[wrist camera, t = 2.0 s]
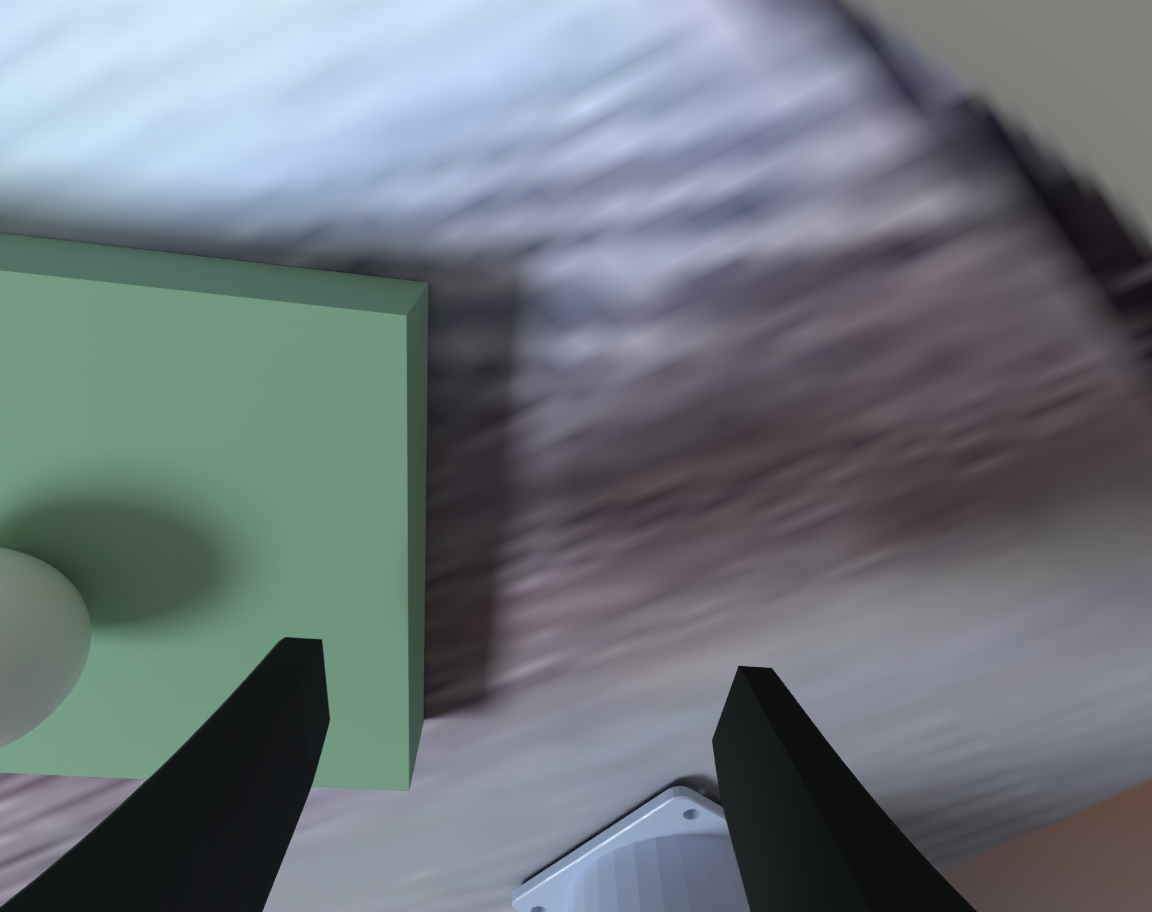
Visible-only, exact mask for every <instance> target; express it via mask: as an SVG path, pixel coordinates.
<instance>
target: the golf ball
mask: <svg viewBox="0 0 1152 912" xmlns="http://www.w3.org/2000/svg"><path fill="white" fill-rule="evenodd" d="M90 643H91V625H90V617H89V614H88V610H87V608H86V605H85V602H84V600H83V598H82V596H81V595H80V593H79V592H78V590H77V589H76V588H75V586H74V585H73V584H72V583H71V582H70V581H69V579H67V578H66V577H65V576H64V575H63V574H62V573H61V572H60V571H58V570H57V569H56V568H54V567H53V566H51V565H50V564H48V563H46V562H44V561H42V560H40V559H38V558H36V557H33V556H31V555H28V554H25V553H22V552H18V551H15V550H11V549H6V548H1V547H0V749H1V748H3V747H4V746H6V745H8V744H10V743H12V742H14V741H16V740H18V739H20V738H21V737H23V736H24V735H25V734H27V733H28V732H30V731H31V730H33V729H34V728H36V727H37V726H38V725H40V724H41V723H42V722H43V721H44V720H46V719H47V718H48V717H49V716H50V715H51V714H52V713H53V712H54V711H55V710H56V709H57V708H58V707H59V706H60V705H61V703H62V702H63V701H64V700H65V699H66V698H67V697H68V695H69V694H70V692H71V691H72V690H73V688H74V687H75V685H76V683H77V682H78V680H79V678H80V676H81V674H82V672H83V670H84V667H85V664H86V661H87V658H88V654H89V651H90Z"/></svg>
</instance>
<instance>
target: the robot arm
mask: <svg viewBox="0 0 1152 912" xmlns="http://www.w3.org/2000/svg"><path fill="white" fill-rule="evenodd" d="M329 723H330V713H329V703H328V693H327V683H326V673H325V663H324V653H323V643H322V639H309V638H294V637H284V638H283V639H281V640H280V641H278V643H277V644H276V645H275V646H274V647H273V648H272V649H271V651H270V652H269V653H268V654H267V655H266V656H265V657H264V659H263V660H262V661H261V662H260V663H259V664H258V665H257V666H256V668H255V669H254V670H253V671H252V672H251V673H250V674H249V675H248V677H247V678H246V679H245V680H244V681H243V682H242V683H241V684H240V685H239V687H238V688H237V689H236V690H235V691H234V692H233V693H232V694H231V695H230V696H229V697H228V698H227V700H226V701H225V702H224V703H223V704H222V705H221V706H220V707H219V708H218V709H217V710H216V711H215V712H214V713H213V714H212V715H211V716H210V718H209V719H208V720H207V721H206V722H205V723H204V724H203V725H202V726H201V727H200V728H199V729H198V730H197V731H196V732H195V733H194V734H193V735H192V736H191V737H190V738H189V739H188V740H187V741H186V742H185V743H184V744H183V745H182V746H181V747H180V748H179V749H178V750H177V751H176V752H175V753H174V754H173V755H172V756H171V757H170V758H169V759H168V760H167V761H166V762H165V763H164V764H163V765H162V766H161V767H160V768H159V769H158V770H157V771H156V772H155V773H154V774H153V775H152V776H151V777H150V778H148V779H147V780H146V781H145V782H144V783H143V784H142V785H141V786H140V787H139V788H138V789H137V790H136V791H135V792H134V793H133V794H132V795H131V796H130V797H128V798H127V799H126V800H125V801H124V802H123V803H122V804H121V805H120V806H119V807H118V808H117V809H116V810H115V811H113V812H112V813H111V814H110V815H109V816H108V817H107V818H106V819H105V820H103V821H102V822H101V823H100V824H99V825H98V826H97V827H96V828H95V829H93V830H92V831H91V832H90V833H89V834H88V835H87V836H85V837H84V838H83V839H82V840H81V841H80V842H79V843H77V844H76V845H75V846H74V847H73V848H72V849H70V850H69V851H68V852H67V853H66V854H65V855H63V856H62V857H61V858H60V859H59V860H57V861H56V862H55V863H54V864H53V865H52V866H50V867H49V868H48V869H47V870H46V871H45V872H43V873H42V874H41V875H40V876H38V877H37V878H36V879H35V880H34V881H32V882H31V883H30V884H29V885H27V886H26V887H25V888H24V889H22V890H21V891H20V892H19V893H17V894H16V895H15V896H14V897H12V898H11V899H10V900H9V901H7V902H6V903H5V904H4V905H2V906H1V907H0V912H262V911H263V909H264V906H265V903H266V901H267V898H268V896H269V893H270V891H271V888H272V886H273V883H274V881H275V878H276V876H277V873H278V871H279V868H280V866H281V863H282V861H283V858H284V856H285V853H286V851H287V848H288V845H289V843H290V840H291V838H292V835H293V833H294V830H295V828H296V825H297V823H298V820H299V818H300V815H301V812H302V810H303V807H304V805H305V802H306V800H307V797H308V794H309V792H310V789H311V787H312V784H313V781H314V777H315V774H316V770H317V767H318V763H319V760H320V756H321V753H322V749H323V745H324V742H325V738H326V734H327V730H328V727H329ZM712 744H713V751H714V758H715V765H716V773H717V779H718V785H719V791H720V797H721V803H722V806H723V807H721V806H720V805H718V804H716V803H714V802H713V801H711V800H709V799H707V798H706V797H704V796H702V795H700V794H699V793H697V792H695V791H693V790H692V789H690V788H688V787H685V786H675V787H671V788H669V789H667V790H666V791H664V792H663V793H661V794H660V795H658V796H657V797H655V798H654V799H652V800H651V801H649V802H647V803H646V804H644V805H643V806H641V807H640V808H638V809H637V810H635V811H634V812H632V813H631V814H629V815H628V816H626V817H625V818H623V819H622V820H620V821H619V822H617V823H615V824H614V825H612V826H611V827H609V828H608V829H606V830H605V831H603V832H602V833H600V834H599V835H597V836H596V837H594V838H593V839H591V840H590V841H588V842H587V843H585V844H584V845H582V846H580V847H579V848H577V849H576V850H574V851H573V852H571V853H570V854H568V855H567V856H565V857H564V858H562V859H561V860H559V861H558V862H556V863H555V864H553V865H552V866H550V867H548V868H547V869H545V870H544V871H542V872H541V873H539V874H538V875H536V876H535V877H533V878H532V879H530V880H529V881H527V882H526V883H524V884H523V885H521V886H520V887H518V888H517V889H516V890H515V891H514V892H513V898H512V906H513V907H514V908H515V909H516V910H517V911H519V912H977V911H976V910H975V909H974V908H973V907H972V906H971V905H970V904H969V903H968V902H967V901H966V900H965V899H964V898H963V897H962V896H961V895H960V894H959V893H958V892H957V891H956V890H955V889H954V888H953V887H952V886H951V885H950V884H949V883H948V882H947V881H946V880H945V879H944V878H943V877H942V876H941V874H940V873H939V872H938V871H937V870H936V869H935V868H934V867H933V866H932V865H931V864H930V863H929V862H928V861H927V860H926V859H925V857H924V856H923V855H922V854H921V853H920V852H919V851H918V850H917V849H916V848H915V847H914V845H913V844H912V843H911V842H910V841H909V840H908V839H907V837H906V836H905V835H904V834H903V833H902V832H901V831H900V829H899V828H898V827H897V826H896V825H895V824H894V823H893V821H892V820H891V819H890V818H889V817H888V816H887V815H886V813H885V812H884V811H883V810H882V809H881V807H880V806H879V805H878V804H877V803H876V801H875V800H874V799H873V798H872V797H871V795H870V794H869V793H868V792H867V791H866V789H865V788H864V787H863V786H862V784H861V783H860V782H859V781H858V779H857V778H856V777H855V776H854V774H853V773H852V772H851V771H850V769H849V768H848V767H847V766H846V764H845V763H844V762H843V761H842V759H841V758H840V757H839V756H838V754H837V753H836V752H835V751H834V749H833V748H832V747H831V745H830V744H829V743H828V742H827V740H826V739H825V738H824V736H823V735H822V734H821V732H820V731H819V730H818V728H817V727H816V726H815V724H814V723H813V722H812V721H811V719H810V718H809V717H808V715H807V714H806V713H805V711H804V710H803V709H802V707H801V706H800V705H799V703H798V702H797V701H796V699H795V698H794V697H793V695H792V694H791V693H790V691H789V690H788V689H787V687H786V686H785V685H784V683H783V682H782V681H781V679H780V678H779V677H778V675H777V674H776V673H775V672H774V670H773V669H772V668H764V667H748V666H738V669H737V672H736V675H735V678H734V680H733V683H732V686H731V689H730V692H729V694H728V697H727V700H726V703H725V706H724V708H723V711H722V714H721V717H720V720H719V722H718V725H717V728H716V731H715V734H714V736H713V739H712Z"/></svg>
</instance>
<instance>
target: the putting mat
mask: <svg viewBox="0 0 1152 912" xmlns="http://www.w3.org/2000/svg"><path fill="white" fill-rule="evenodd" d="M428 302H429V283H428V282H419V281H411V280H402V279H394V278H385V277H376V276H368V275H359V274H350V273H342V272H333V271H325V270H316V269H307V268H299V267H290V266H281V265H273V264H264V263H256V262H247V261H238V260H230V259H221V258H212V257H204V256H195V255H187V254H178V253H169V252H161V251H152V250H143V249H135V248H126V247H118V246H109V245H100V244H92V243H83V242H74V241H66V240H57V239H49V238H40V237H31V236H23V235H14V234H5V233H0V547H1V548H6V549H11V550H15V551H18V552H22V553H25V554H28V555H31V556H33V557H36V558H38V559H40V560H42V561H44V562H46V563H48V564H50V565H51V566H53V567H54V568H56V569H57V570H58V571H60V572H61V573H62V574H63V575H64V576H65V577H66V578H67V579H69V581H70V582H71V583H72V584H73V585H74V586H75V588H76V589H77V590H78V592H79V593H80V595H81V596H82V598H83V600H84V602H85V605H86V608H87V610H88V614H89V617H90V625H91V643H90V651H89V654H88V658H87V661H86V664H85V667H84V670H83V672H82V674H81V676H80V678H79V680H78V682H77V683H76V685H75V687H74V688H73V690H72V691H71V692H70V694H69V695H68V697H67V698H66V699H65V700H64V701H63V702H62V703H61V705H60V706H59V707H58V708H57V709H56V710H55V711H54V712H53V713H52V714H51V715H50V716H49V717H48V718H47V719H46V720H44V721H43V722H42V723H41V724H40V725H38V726H37V727H36V728H34V729H33V730H31V731H30V732H28V733H27V734H25V735H24V736H23V737H21V738H20V739H18V740H16V741H14V742H12V743H10V744H8V745H6V746H4V747H3V748H1V749H0V773H21V774H43V775H65V776H87V777H109V778H131V779H148V778H150V777H151V776H152V775H153V774H154V773H155V772H156V771H157V770H158V769H159V768H160V767H161V766H162V765H163V764H164V763H165V762H166V761H167V760H168V759H169V758H170V757H171V756H172V755H173V754H174V753H175V752H176V751H177V750H178V749H179V748H180V747H181V746H182V745H183V744H184V743H185V742H186V741H187V740H188V739H189V738H190V737H191V736H192V735H193V734H194V733H195V732H196V731H197V730H198V729H199V728H200V727H201V726H202V725H203V724H204V723H205V722H206V721H207V720H208V719H209V718H210V716H211V715H212V714H213V713H214V712H215V711H216V710H217V709H218V708H219V707H220V706H221V705H222V704H223V703H224V702H225V701H226V700H227V698H228V697H229V696H230V695H231V694H232V693H233V692H234V691H235V690H236V689H237V688H238V687H239V685H240V684H241V683H242V682H243V681H244V680H245V679H246V678H247V677H248V675H249V674H250V673H251V672H252V671H253V670H254V669H255V668H256V666H257V665H258V664H259V663H260V662H261V661H262V660H263V659H264V657H265V656H266V655H267V654H268V653H269V652H270V651H271V649H272V648H273V647H274V646H275V645H276V644H277V643H278V641H280V640H281V639H283V638H284V637H294V638H309V639H322V643H323V653H324V663H325V673H326V683H327V693H328V703H329V713H330V723H329V727H328V730H327V734H326V738H325V742H324V745H323V749H322V753H321V756H320V760H319V763H318V767H317V770H316V774H315V777H314V781H313V784H312V787H329V788H351V789H373V790H395V791H409V789H410V784H411V780H412V775H413V770H414V765H415V760H416V756H417V751H418V746H419V741H420V736H421V731H422V727H423V722H424V645H425V559H426V473H427V388H428Z"/></svg>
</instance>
